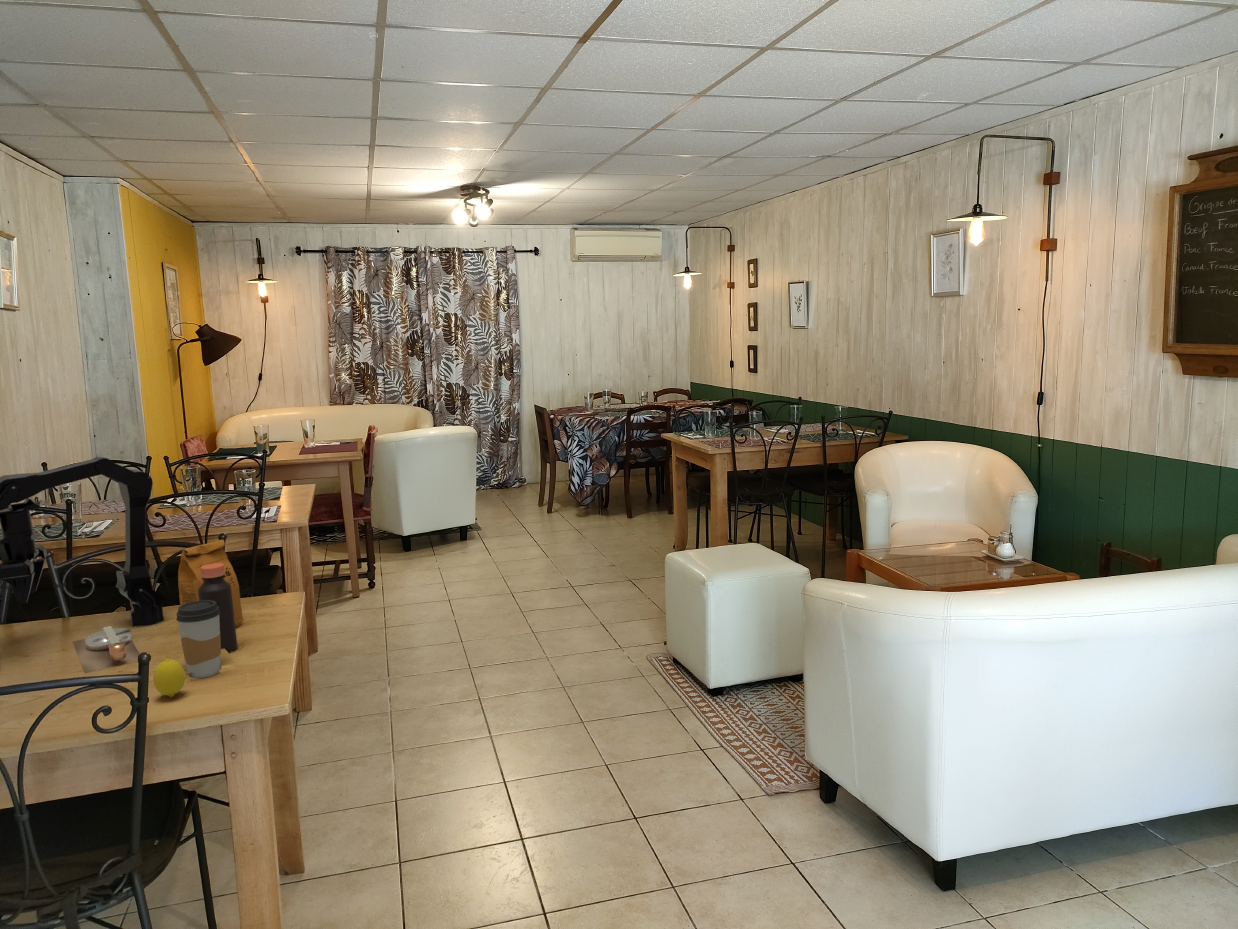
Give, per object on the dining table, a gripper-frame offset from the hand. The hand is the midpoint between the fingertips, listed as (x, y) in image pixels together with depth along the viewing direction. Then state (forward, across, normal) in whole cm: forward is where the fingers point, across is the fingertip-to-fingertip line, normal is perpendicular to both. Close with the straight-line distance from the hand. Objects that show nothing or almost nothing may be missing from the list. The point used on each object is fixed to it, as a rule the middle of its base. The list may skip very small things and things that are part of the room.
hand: (28, 597), depth 193 cm
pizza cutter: (+12, +11, +16) cm, 23 cm away
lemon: (+14, +42, +30) cm, 53 cm away
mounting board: (+14, +9, +15) cm, 23 cm away
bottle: (+14, +18, +39) cm, 45 cm away
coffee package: (+15, +2, +37) cm, 40 cm away
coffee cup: (+14, +31, +36) cm, 49 cm away
